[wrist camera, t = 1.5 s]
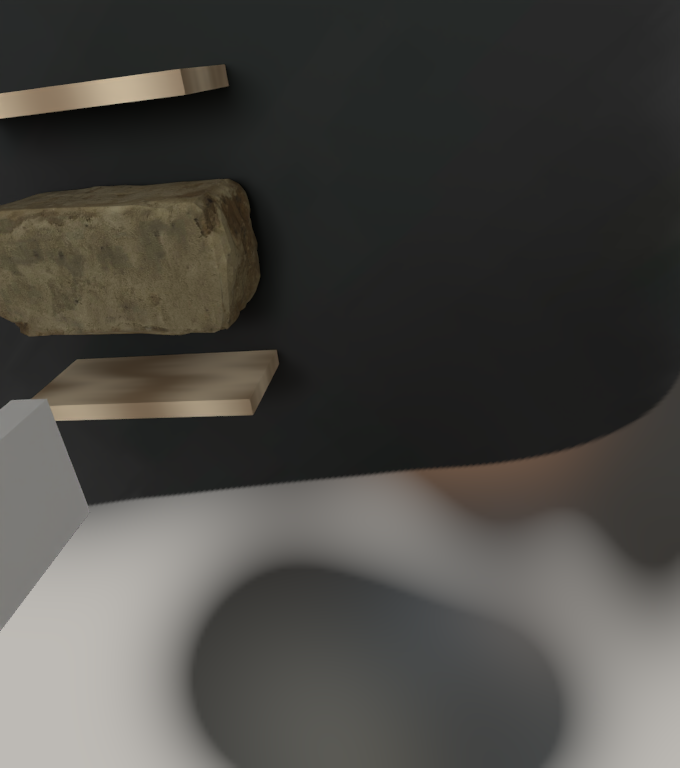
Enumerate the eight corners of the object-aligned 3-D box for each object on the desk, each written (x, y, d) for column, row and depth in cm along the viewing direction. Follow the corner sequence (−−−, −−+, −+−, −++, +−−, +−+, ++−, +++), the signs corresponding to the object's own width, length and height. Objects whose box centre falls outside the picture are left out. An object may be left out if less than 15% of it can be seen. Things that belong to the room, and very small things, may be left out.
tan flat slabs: (81, 372, 34) (28, 421, 30) (-14, 96, 28) (-99, 107, 23) (279, 364, 32) (253, 415, 28) (224, 64, 26) (179, 68, 21)
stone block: (17, 190, 30) (-55, 216, 25) (252, 169, 28) (217, 192, 23) (56, 306, 32) (-4, 347, 28) (272, 294, 30) (244, 336, 26)
